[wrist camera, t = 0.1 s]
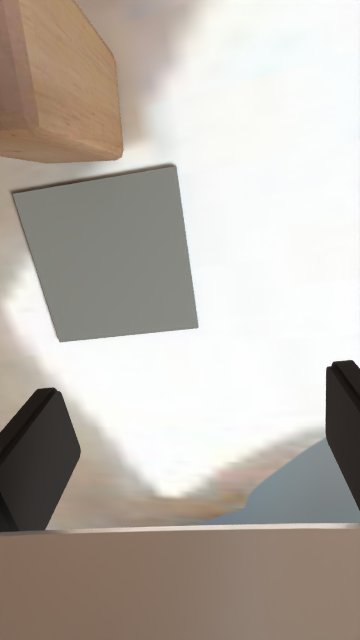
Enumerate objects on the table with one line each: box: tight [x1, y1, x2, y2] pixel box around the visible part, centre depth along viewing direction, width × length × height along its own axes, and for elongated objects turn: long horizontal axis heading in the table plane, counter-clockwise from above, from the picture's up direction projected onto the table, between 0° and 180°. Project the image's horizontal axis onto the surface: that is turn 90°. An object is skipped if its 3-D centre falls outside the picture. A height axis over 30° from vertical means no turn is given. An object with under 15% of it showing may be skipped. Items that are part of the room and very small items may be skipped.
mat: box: [13, 166, 198, 342], centre depth 41 cm, size 20×20×1 cm
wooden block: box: [0, 0, 123, 163], centre depth 26 cm, size 10×10×20 cm
